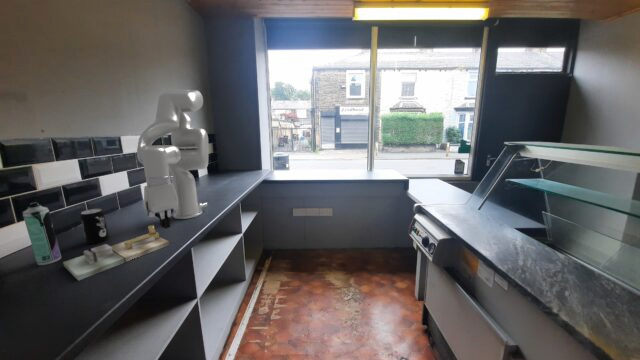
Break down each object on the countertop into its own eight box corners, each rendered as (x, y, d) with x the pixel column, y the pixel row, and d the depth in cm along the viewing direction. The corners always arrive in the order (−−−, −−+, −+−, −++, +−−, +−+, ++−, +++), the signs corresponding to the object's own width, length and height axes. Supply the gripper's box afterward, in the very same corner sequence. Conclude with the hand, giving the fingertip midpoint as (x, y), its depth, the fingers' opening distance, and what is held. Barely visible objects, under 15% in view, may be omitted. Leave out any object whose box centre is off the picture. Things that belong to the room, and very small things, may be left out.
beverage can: (96, 245, 93) (88, 214, 90) (82, 243, 94) (74, 213, 91) (113, 237, 99) (107, 208, 96) (100, 236, 100) (93, 207, 98)
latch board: (151, 236, 99) (149, 225, 98) (169, 245, 92) (167, 233, 91) (64, 266, 79) (60, 253, 78) (78, 280, 71) (74, 266, 70)
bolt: (156, 236, 95) (154, 224, 94) (159, 237, 94) (157, 225, 93) (125, 246, 87) (122, 234, 86) (128, 248, 86) (125, 235, 85)
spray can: (65, 257, 84) (50, 200, 80) (43, 266, 79) (26, 206, 75) (55, 255, 86) (40, 199, 81) (33, 263, 81) (15, 204, 76)
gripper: (173, 176, 101) (180, 219, 105) (130, 184, 89) (139, 232, 93) (184, 178, 97) (190, 222, 101) (140, 186, 85) (149, 236, 89)
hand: (166, 227), depth 97 cm, fingers closed
